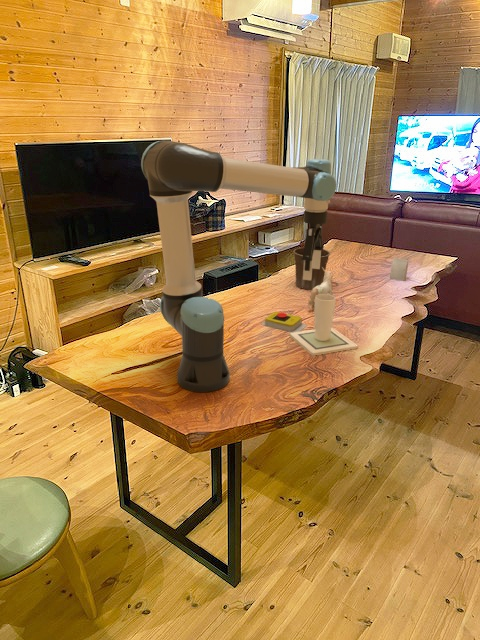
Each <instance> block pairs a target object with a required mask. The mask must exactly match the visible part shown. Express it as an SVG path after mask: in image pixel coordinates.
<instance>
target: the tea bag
mask: <svg viewBox="0 0 480 640" xmlns="http://www.w3.org/2000/svg"><path fill="white" fill-rule="evenodd" d="M408 267H409V259H404V258H398V257H393V258H392V263H391V267H390V272H389V279H390V280H395V281H400V282H404V281H406V280H407V274H408Z"/></svg>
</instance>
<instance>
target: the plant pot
mask: <svg viewBox="0 0 480 640" xmlns="http://www.w3.org/2000/svg"><path fill="white" fill-rule="evenodd" d="M314 250H315V249H314ZM303 252H304V247H298V248H295V249H294V250H293V254H294V261H295V286H296V288H299V289H303V290H309V291H312V290H313V288H315V287H316V286H318V285H321V283H323V282H324V281H323V279H324V277H325V272H324V271H323V269H322V267H323V268H324V270H326V269H327V263H328V261H329V257H330V255H331V252H330V251H329V250H327V249H325V248H323V250H321V258H320V269H313V268H312V279H311V280H303V267H304V260H301V258H302V257H303ZM308 257H309V256H308Z"/></svg>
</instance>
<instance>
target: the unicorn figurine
mask: <svg viewBox="0 0 480 640" xmlns="http://www.w3.org/2000/svg"><path fill="white" fill-rule="evenodd" d="M322 269H323V271H324V272H325V274H324V279H323V283H321V285H318V286H316V287H315V288H313V290H310V295H309V299H308V301H307V306H308V308H310V307H312V308H314V305H315V297H316V296H317V295H319V294H328V295H332V296H334V294H333V291H332V290H333V286H332V281H333V280H332V279H333V275H332V272H331V270H326V269H325V270H324V268H323V267H322Z"/></svg>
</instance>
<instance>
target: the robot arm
mask: <svg viewBox="0 0 480 640" xmlns="http://www.w3.org/2000/svg"><path fill="white" fill-rule="evenodd" d="M140 166H141V171H142V173H143V175H144V177H145V179H146V180H147V184H148V190H149V197H151V198H152V199H153V200H154V201H155V203H156V208H157V209H156V210H157V218H158V225H159V234H160V235H159V236H160V240H161V241H160V242H161V248H162V250H161V251H162V256H163V257H162V258H163V267H164V273H165V281H166V283H165V284H164V285H163V287H162V288H161V292H162V296H161V297H160V302H159V309H160V312H161V315H162V316H163V319H164V320H165V321H166V322H167V323H168V325H170V327H172V328H173V329H174V330H175V331H176V332H177V333H178V334H179V335H180V337H181V345H182V346H181V348H182V349H181V350H182V356H181V359H180V363H179V365H178V369H177V372H176V379H177V384H178V385H179V386H180V387H181V388H183V389H184V390H187V391H191V392H195V393H210V392H215V391H218V390H220V389H222V388H224V387H225V386H227V385H228V384H229V382H230V369H229V366H228V364H227V361H226V358H225V354H224V339H225V338H224V336H225V335H224V334H225V333H224V331H225V330H224V329H225V328H224V326H225V315H224V309H223V306H222V305H221V303H220V302H218V301H217V300H216V299H213V298H208V297H207V296H206V297H205V296H203V288H202V283H200V282H199V281H197V277H196V269H195V260H194V258H195V257H194V249H193V240H192V238H193V237H192V229H191V228H192V227H191V218H190V209H189V208H190V207H189V198H190V197H191V195H192V194H193V192H210V193H216V192H218V191H219V190H220V189H221V190H229V191H240V192H248V193H249V192H250V193H256V194H257V193H259V194H269V195H274V196H275V195H277V196H285V197H295V198H301V199H304V201H303V204H304V205H303V208H304V211H303V222H304V223H305V224H308V225H309V227H308V228H307V229H306V234H305V241H304V247H303V248H304V252H303V257H302V258H301V260H304V267H303V280H311V279H312V268H313V269H320V258H321V250H323V249H325V248H324V245H323V225H324V224H327V222H328V208H329V204H331V200H330V199H331V198H332V197H334V194H335V193H336V190H337V181H336V179H335V177H334V176H333V174H332V162H331V161H330V160H328V159H324V158H323V159H321V158H310V159H307V161H306V165H305V166H302V167H301V166H300V167H299V166H296V167H295V166H293V167H289V166H283V165H276V164H271V163H262V162H255V161H248V160H243V159H236V158H228V157H224V156H223V155H222V154H221V152H219V151H218V152H217V151H212V150H211V151H210V150H208V149H204V148H199V147H197V146H193V145H191V144H188V143H185V142H177V141H172V140H165V139H163V140H158V141H157V140H156V141H155V142H152V143H151V144H150V145H148V146H147V148H145V150H144V152H143V153H142V157H141V162H140ZM314 249H315V250H314ZM308 256H309V257H308Z"/></svg>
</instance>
